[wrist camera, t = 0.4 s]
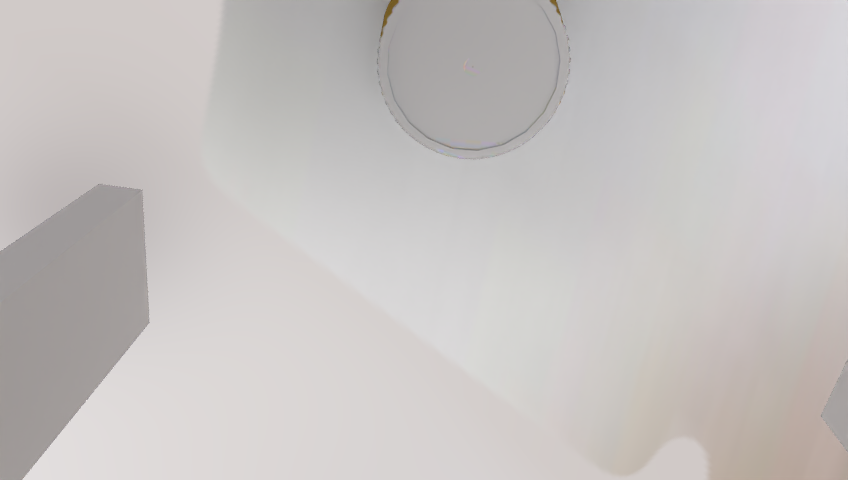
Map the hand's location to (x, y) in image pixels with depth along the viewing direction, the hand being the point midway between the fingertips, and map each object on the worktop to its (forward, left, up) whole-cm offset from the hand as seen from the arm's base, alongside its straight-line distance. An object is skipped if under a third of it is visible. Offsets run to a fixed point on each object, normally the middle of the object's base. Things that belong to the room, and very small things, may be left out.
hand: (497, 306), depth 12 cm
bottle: (-2, 0, -26) cm, 26 cm away
